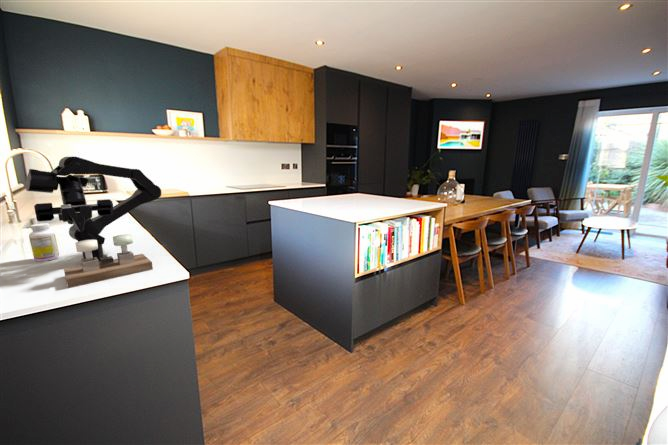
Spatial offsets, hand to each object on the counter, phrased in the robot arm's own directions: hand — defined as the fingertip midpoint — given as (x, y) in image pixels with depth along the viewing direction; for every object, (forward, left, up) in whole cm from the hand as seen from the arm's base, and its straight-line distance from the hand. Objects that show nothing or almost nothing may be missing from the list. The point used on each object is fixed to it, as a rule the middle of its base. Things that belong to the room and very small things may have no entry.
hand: (81, 230), depth 93 cm
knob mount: (+5, +5, -14) cm, 15 cm away
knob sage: (+5, +9, -8) cm, 13 cm away
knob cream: (+5, 0, -8) cm, 10 cm away
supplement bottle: (-28, -9, -14) cm, 32 cm away
